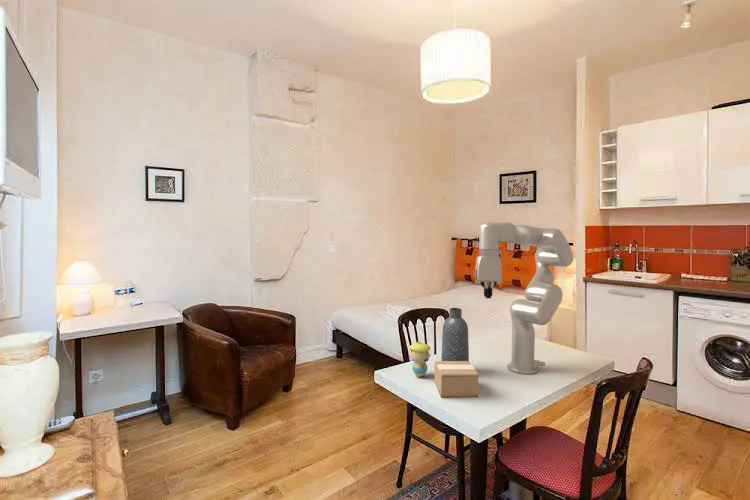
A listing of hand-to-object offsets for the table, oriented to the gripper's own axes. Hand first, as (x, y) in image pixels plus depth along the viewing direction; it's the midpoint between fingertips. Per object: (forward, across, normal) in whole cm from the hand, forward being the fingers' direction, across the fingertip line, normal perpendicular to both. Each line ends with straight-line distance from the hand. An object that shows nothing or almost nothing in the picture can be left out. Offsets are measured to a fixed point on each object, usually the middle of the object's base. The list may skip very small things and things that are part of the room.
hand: (488, 297), depth 161 cm
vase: (+35, +11, -10) cm, 38 cm away
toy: (+35, +27, -6) cm, 45 cm away
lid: (+27, +15, +8) cm, 32 cm away
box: (+35, +15, +8) cm, 39 cm away
